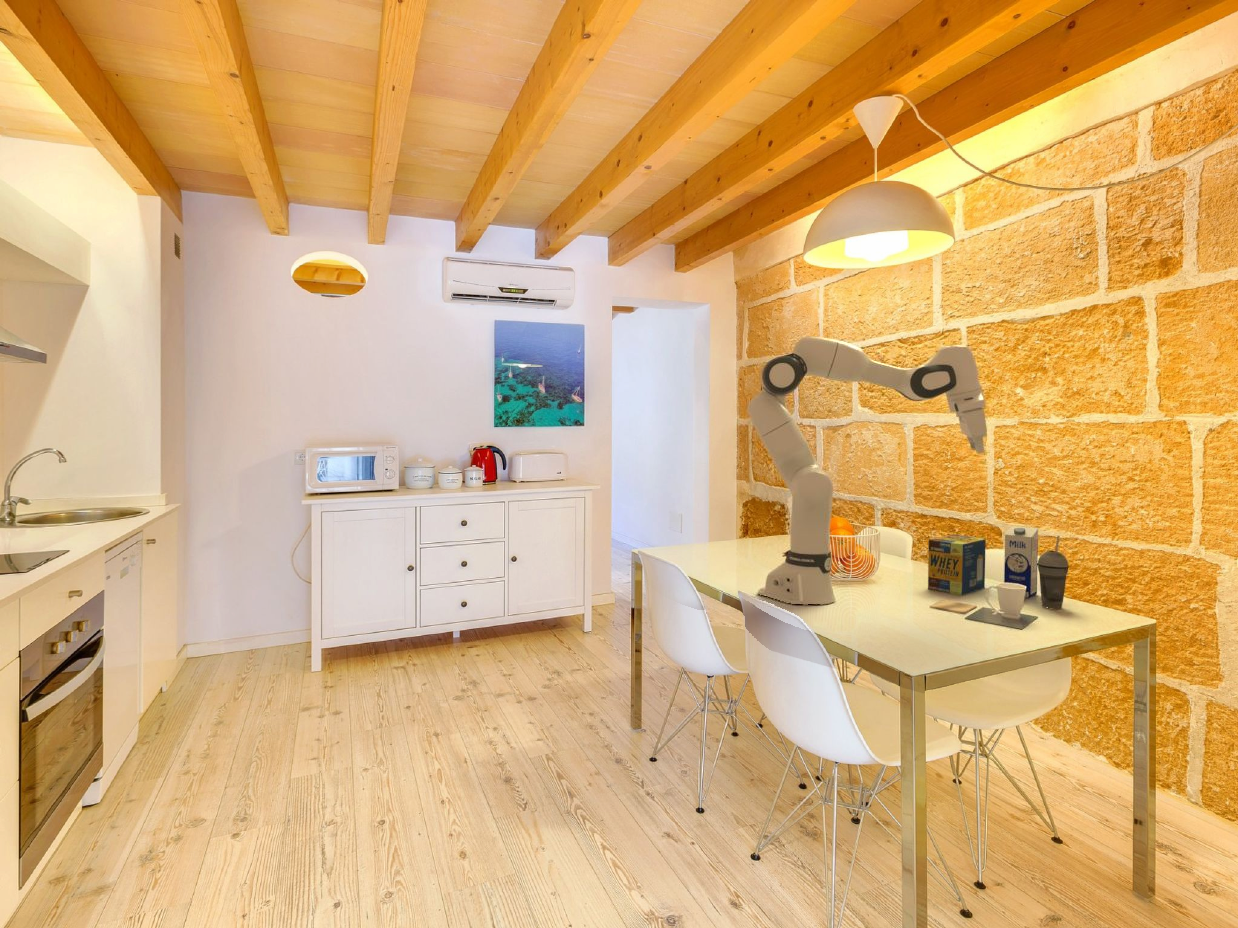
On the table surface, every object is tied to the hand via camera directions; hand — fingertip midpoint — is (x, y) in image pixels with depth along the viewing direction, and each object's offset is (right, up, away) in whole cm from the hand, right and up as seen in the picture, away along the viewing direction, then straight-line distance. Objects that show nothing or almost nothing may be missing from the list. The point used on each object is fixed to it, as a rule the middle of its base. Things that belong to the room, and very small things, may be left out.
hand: (977, 451), depth 177 cm
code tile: (+1, -44, -10) cm, 45 cm away
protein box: (+5, -42, +22) cm, 48 cm away
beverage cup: (+20, -43, 0) cm, 48 cm away
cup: (+3, -44, -8) cm, 44 cm away
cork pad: (-6, -43, +1) cm, 44 cm away
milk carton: (+20, -42, +14) cm, 49 cm away
